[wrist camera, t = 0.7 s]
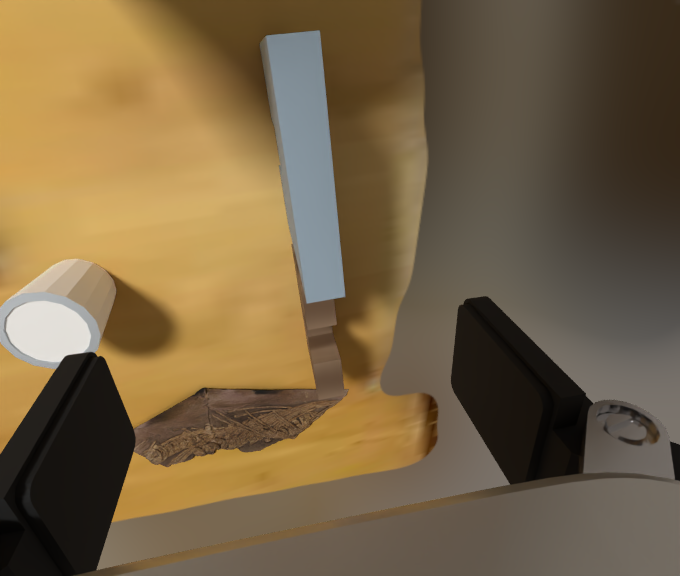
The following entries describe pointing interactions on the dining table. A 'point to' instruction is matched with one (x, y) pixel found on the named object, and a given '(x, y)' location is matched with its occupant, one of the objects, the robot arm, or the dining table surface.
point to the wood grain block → (321, 343)
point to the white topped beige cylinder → (58, 313)
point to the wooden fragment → (228, 422)
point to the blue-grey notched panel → (305, 158)
